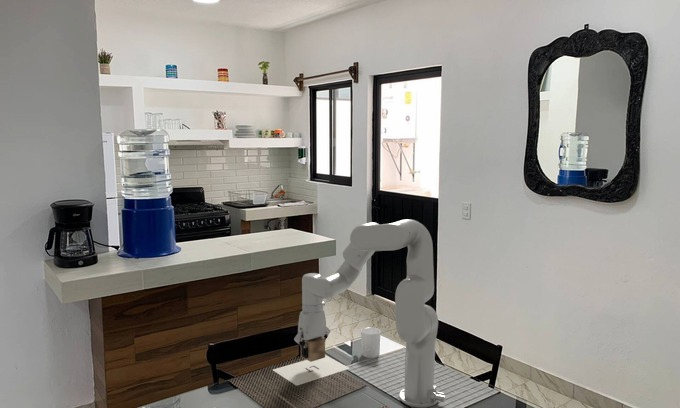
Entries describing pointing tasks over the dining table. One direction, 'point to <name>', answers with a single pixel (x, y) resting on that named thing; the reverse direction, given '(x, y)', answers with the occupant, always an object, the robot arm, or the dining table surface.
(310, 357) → the walnut block
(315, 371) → the board
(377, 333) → the white cup
